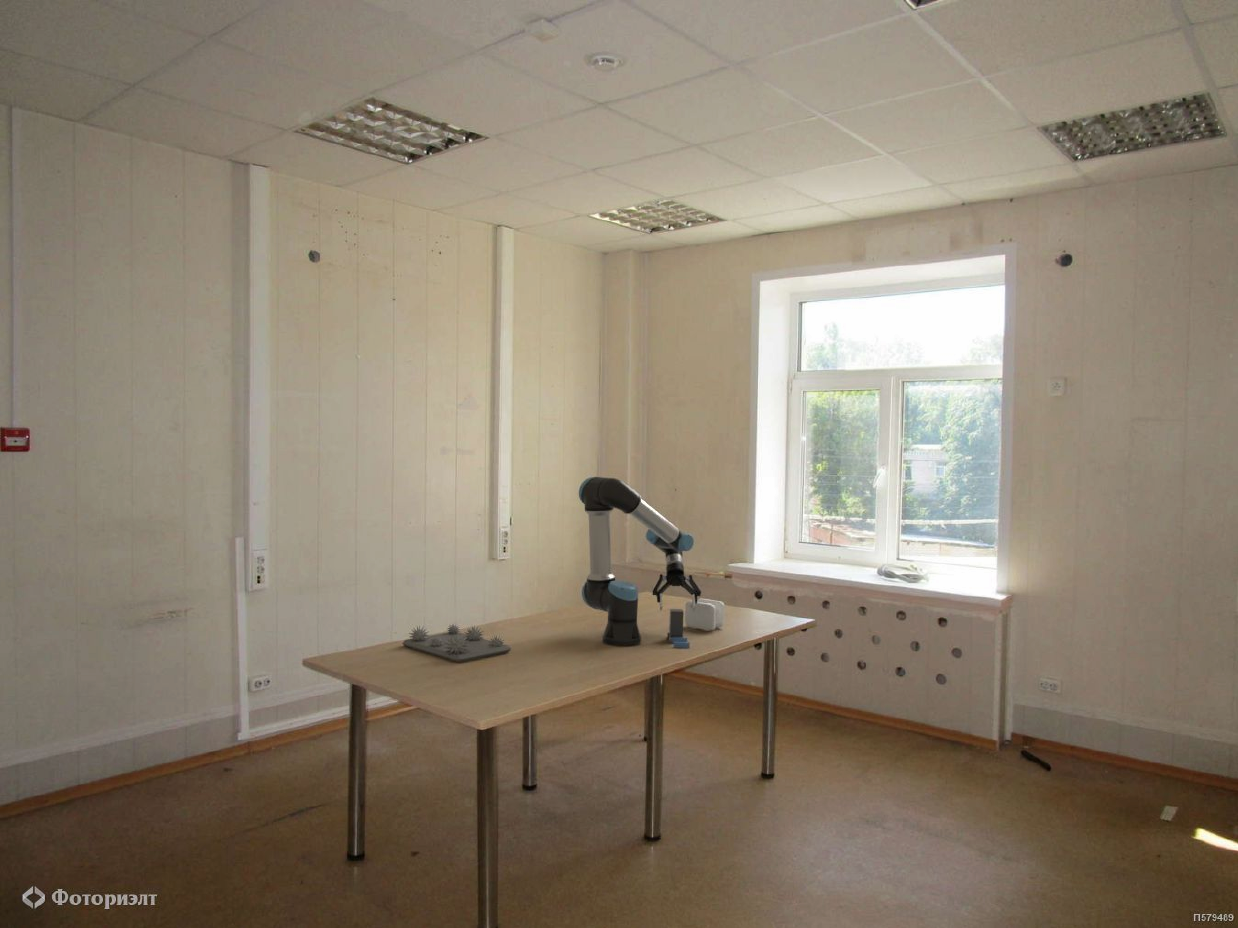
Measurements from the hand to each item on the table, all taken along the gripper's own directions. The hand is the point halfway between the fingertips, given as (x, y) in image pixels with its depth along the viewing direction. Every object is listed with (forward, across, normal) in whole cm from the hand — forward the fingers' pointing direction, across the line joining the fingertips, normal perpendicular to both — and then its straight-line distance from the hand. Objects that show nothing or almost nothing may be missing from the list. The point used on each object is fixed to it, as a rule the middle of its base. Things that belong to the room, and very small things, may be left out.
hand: (677, 608), depth 340 cm
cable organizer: (-4, -14, -20) cm, 25 cm away
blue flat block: (+19, 0, +3) cm, 19 cm away
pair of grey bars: (+13, +1, -3) cm, 13 cm away
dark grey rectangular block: (+13, +1, -3) cm, 13 cm away
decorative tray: (+29, +86, +13) cm, 92 cm away
